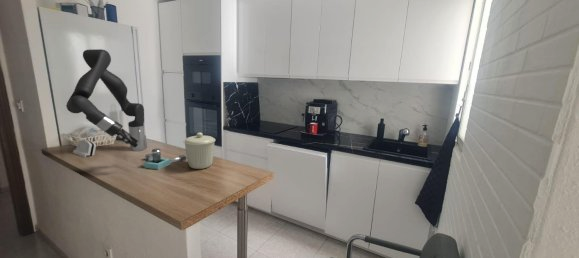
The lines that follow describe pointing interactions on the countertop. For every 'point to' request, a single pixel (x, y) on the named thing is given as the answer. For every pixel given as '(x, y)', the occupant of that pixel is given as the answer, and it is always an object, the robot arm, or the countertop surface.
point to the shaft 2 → (178, 159)
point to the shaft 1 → (148, 157)
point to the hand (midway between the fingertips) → (136, 144)
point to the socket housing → (156, 164)
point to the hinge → (85, 148)
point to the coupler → (156, 155)
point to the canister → (199, 150)
